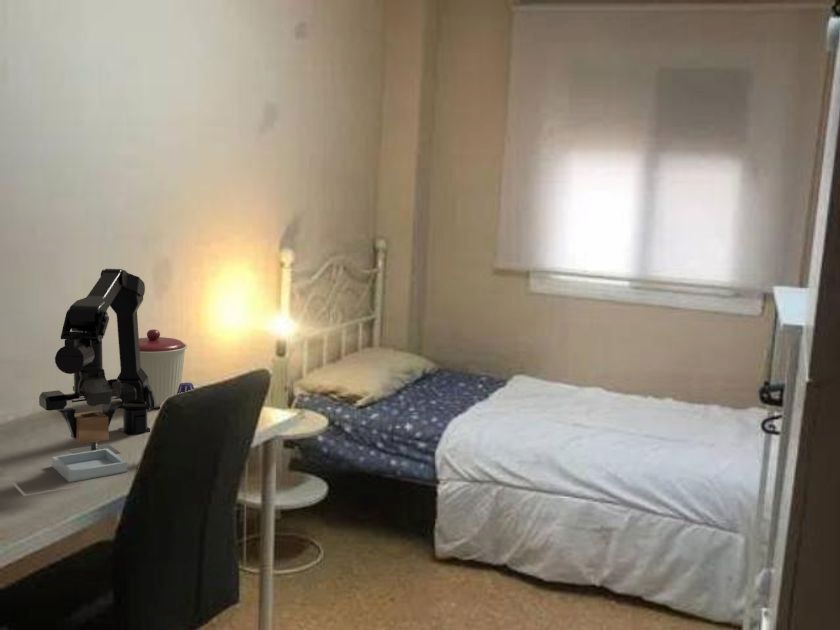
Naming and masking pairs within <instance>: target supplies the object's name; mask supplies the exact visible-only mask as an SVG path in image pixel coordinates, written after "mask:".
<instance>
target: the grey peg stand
mask: <svg viewBox="0 0 840 630" xmlns="http://www.w3.org/2000/svg"><path fill="white" fill-rule="evenodd" d="M98 442H99V441H96V442H90V445H88V446H82V447H75V448H70V449H69V448H68V449H67V450H68V451H69V452H70V453H71V454H74V453H81V452H87V451H93V450H100V449H106V448H108V449H109V450H111V451H112V452H113V453H115V454H116V455H120V454H121V452H120V451H119V450H117V449H116V448H115V447H113V446H112V445H110V444H109V443H102V444H98Z"/></svg>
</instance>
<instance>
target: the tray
mask: <svg viewBox="0 0 840 630" xmlns="http://www.w3.org/2000/svg"><path fill="white" fill-rule="evenodd" d="M127 462H128V461H126V460H124V459H123V458H122V457H120V456H119V455H118V454H115V453H113V452H112V451H111V450H109V449H108V448H106V449H100V450H93V451H87V452H81V453H74V454H73V453H68V454H63V455H57V456H56V455H54V456H51V467H52V468H53V469H54V470H55V471H56V473H58V474H59V475H60V476H62V477H63V478H64V479H65V480H66V481H67V482H68V483H72V482H78V481H83V480H89V479H95V478H101V477H107V476H111V475H112V476H113V475H118V474H124V473H128V463H127Z"/></svg>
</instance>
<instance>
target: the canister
mask: <svg viewBox="0 0 840 630" xmlns="http://www.w3.org/2000/svg"><path fill="white" fill-rule="evenodd" d="M187 348H188V345H187V343H184V342H183V341H182V340H180V339H177V338H172V337H166V336H165V337H162V336H161V332H160V330H158V329H149V330H148V331H147V332H146V337H139V349H140V365H141V368H142V370H143V371H144V372H145V373H146V375H147V376H148V380H149V386H151V388H152V391H153V393H154V396H155V408H156V409H157V408H161V407H160V405H161V404H162V402H163V401H164V400H165V399H166V398H167V397H168V396H170V395H172V394H176V393H177V392H178V388H179V385H180V384H181V383H183V382H182V381H183V380H182V379H183V372H184V363H185V354H186V353H185V352H186V349H187ZM155 408H154V409H155Z"/></svg>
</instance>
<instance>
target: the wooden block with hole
mask: <svg viewBox="0 0 840 630" xmlns="http://www.w3.org/2000/svg"><path fill="white" fill-rule="evenodd" d="M75 424H76V438H73V436H72V434H71V433H70V437H71V438H72V439H73V440H74V441H76V442H77V443H78V444H79V445H81V444H82V445H83V444H89V443H91V442H96V441H98V442H103V441H108V440H110V436H109V435H110V429H109V428H110V425H109V421H108V416H107V415H105V414H104V413H102V410H99V409H98V410H92V411H83V412H77V413H76V412H75Z"/></svg>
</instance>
